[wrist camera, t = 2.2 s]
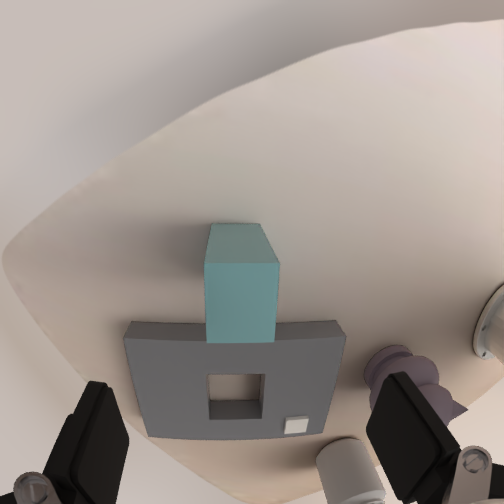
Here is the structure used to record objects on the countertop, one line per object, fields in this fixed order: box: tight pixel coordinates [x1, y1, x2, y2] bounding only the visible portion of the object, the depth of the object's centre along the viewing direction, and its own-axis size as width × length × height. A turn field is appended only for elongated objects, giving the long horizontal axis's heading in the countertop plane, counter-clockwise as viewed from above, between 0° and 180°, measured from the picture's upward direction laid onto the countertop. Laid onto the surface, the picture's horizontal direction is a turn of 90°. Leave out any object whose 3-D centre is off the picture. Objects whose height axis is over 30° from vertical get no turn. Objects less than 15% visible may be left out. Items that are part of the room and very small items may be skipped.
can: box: [316, 438, 386, 504], centre depth 31 cm, size 8×8×12 cm
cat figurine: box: [364, 345, 468, 427], centre depth 27 cm, size 9×8×12 cm
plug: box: [204, 223, 280, 343], centre depth 22 cm, size 4×5×10 cm
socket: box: [123, 320, 346, 440], centre depth 29 cm, size 20×14×4 cm
